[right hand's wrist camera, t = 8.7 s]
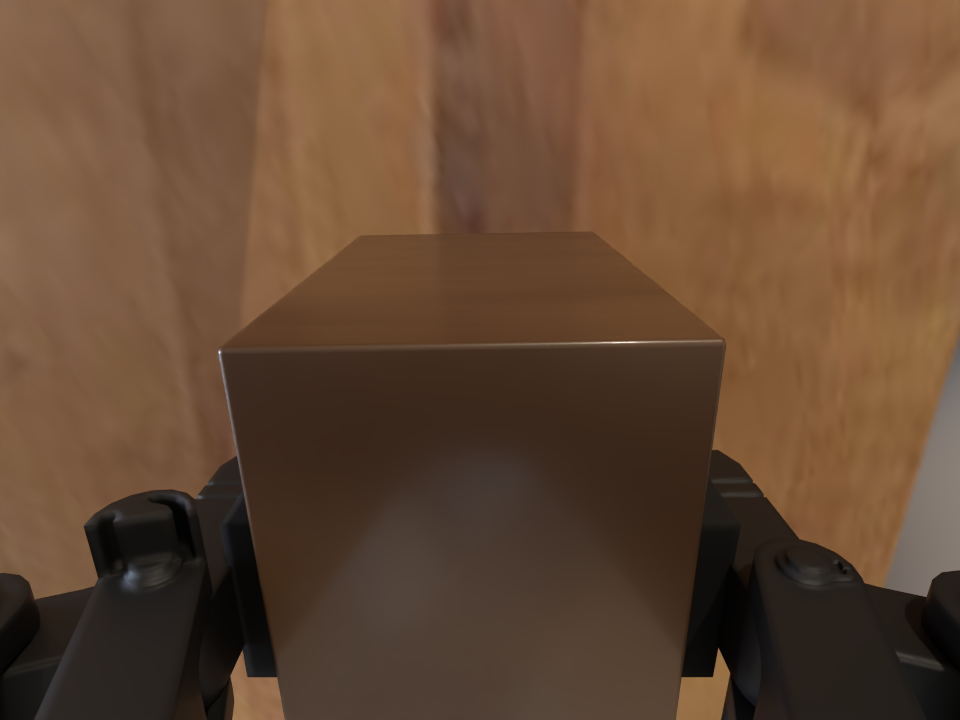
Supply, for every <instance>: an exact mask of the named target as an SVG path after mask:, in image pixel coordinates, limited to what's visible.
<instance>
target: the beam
mask: <svg viewBox="0 0 960 720" xmlns="http://www.w3.org/2000/svg"><path fill="white" fill-rule="evenodd" d="M725 348H726V343H725V339H724V338H722V337H721V336H720V335H719V334H717V333H716V332H715V331H714V330H713V329H711V328H710V327H709V326H708V325H706V324H705V323H704V322H703V321H701V320H700V319H699V318H698V317H697V316H695V315H694V314H693V313H692V312H690V311H689V310H688V309H687V308H686V307H684V306H683V305H682V304H681V303H679V302H678V301H677V300H676V299H675V298H673V297H672V296H671V295H670V294H668V293H667V292H666V291H665V290H664V289H662V288H661V287H660V286H659V285H657V284H656V283H655V282H654V281H653V280H651V279H650V278H649V277H648V276H646V275H645V274H644V273H643V272H642V271H640V270H639V269H638V268H637V267H635V266H634V265H633V264H632V263H631V262H629V261H628V260H627V259H626V258H624V257H623V256H622V255H621V254H620V253H618V252H617V251H616V250H615V249H613V248H612V247H611V246H610V245H609V244H607V243H606V242H605V241H604V240H602V239H601V238H600V237H599V236H598V235H596V234H595V233H594V232H544V233H488V234H432V235H375V236H360V237H358V238H357V239H356V240H354V241H353V242H352V243H351V244H349V245H348V246H347V247H346V248H344V249H343V250H342V251H340V252H339V253H338V254H337V255H335V256H334V257H333V258H332V259H330V260H329V261H328V262H327V263H325V264H324V265H323V266H322V267H320V268H319V269H318V270H317V271H315V272H314V273H313V274H312V275H310V276H309V277H308V278H307V279H305V280H304V281H303V282H302V283H300V284H299V285H298V286H296V287H295V288H294V289H293V290H291V291H290V292H289V293H288V294H286V295H285V296H284V297H283V298H281V299H280V300H279V301H278V302H276V303H275V304H274V305H273V306H271V307H270V308H269V309H268V310H266V311H265V312H264V313H263V314H261V315H260V316H259V317H257V318H256V319H255V320H254V321H252V322H251V323H250V324H249V325H247V326H246V327H245V328H244V329H242V330H241V331H240V332H239V333H237V334H236V335H235V336H234V337H232V338H231V339H230V340H229V341H227V342H226V343H225V344H224V345H222V346H221V347H220V348H219V352H218V355H219V360H220V366H221V371H222V377H223V382H224V388H225V393H226V399H227V404H228V410H229V415H230V421H231V426H232V432H233V437H234V442H235V448H236V453H237V459H238V464H239V470H240V475H241V481H242V486H243V492H244V497H245V503H246V508H247V514H248V519H249V525H250V530H251V536H252V541H253V547H254V552H255V558H256V563H257V569H258V574H259V580H260V585H261V591H262V596H263V602H264V607H265V612H266V618H267V623H268V629H269V634H270V640H271V645H272V651H273V656H274V662H275V667H276V673H277V678H278V684H279V689H280V695H281V700H282V706H283V711H284V717H285V720H676V714H677V706H678V699H679V691H680V684H681V676H682V669H683V662H684V654H685V647H686V639H687V632H688V624H689V617H690V609H691V602H692V594H693V587H694V579H695V572H696V565H697V557H698V550H699V542H700V535H701V527H702V520H703V512H704V505H705V497H706V490H707V482H708V475H709V468H710V460H711V453H712V445H713V438H714V430H715V423H716V415H717V408H718V400H719V393H720V385H721V378H722V371H723V363H724V356H725Z"/></svg>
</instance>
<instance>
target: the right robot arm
mask: <svg viewBox="0 0 960 720" xmlns="http://www.w3.org/2000/svg"><path fill="white" fill-rule="evenodd" d="M84 529H85V532H86V536H87V540H88V543H89V547H90V550H91V554H92V557H93V561H94V564H95V568H96V572H97V575H98V581H97V583H96V585H95V586H94V587H90V588H86V589H83V590H78V591H73V592H68V593H64V594H59V595H54V596H50V597H45V598H40V599H34V596H33V593H32V590H31V587H30V584H29V582H28V581H27V580H25V579H24V578H23V577H22V576H20V575H15V574H7V573H0V720H232V716H233V707H234V695H233V688H232V683H231V678H230V675H231V673H232V671H233V669H234V667H235V664H236V662H237V660H238V658H239V656H240V654H241V651H242V649H243V654H244V660H245V665H246V671H247V676H248V677H277V673H276V667H275V662H274V656H273V651H272V645H271V640H270V634H269V629H268V623H267V618H266V612H265V607H264V602H263V596H262V591H261V585H260V580H259V574H258V569H257V563H256V558H255V552H254V547H253V541H252V536H251V530H250V525H249V519H248V514H247V508H246V503H245V497H244V492H243V486H242V481H241V475H240V470H239V464H238V459H237V456H236V457H234V458H233V459H231V460H230V461H228V462H226V463H225V464H223V465H222V466H221V467H220V468H219V469H218V470H217V472H216V473H215V474H214V476H213V477H212V478H211V479H210V481H209V482H208V486H205V487H204V488H203V490H202V491H201V492H200V493H199V495H198V498H197V499H194V498H192V497H191V496H190V495H189V494H187V493H185V492H180V491H176V490H152V491H148V492H144V493H139V494H135V495H131V496H128V497H126V498H123V499H121V500H118V501H116V502H114V503H111V504H110V505H108V506H106V507H105V508H103V509H102V510H100V511H99V512H97V513H96V514H94V515H93V516H92V517H91V519H90V520H89V521H88V522H87V523H86V524H85V525H84ZM718 647H719V650H720V652H721V654H722V656H723V658H724V660H725V662H726V665H727V667H728V669H729V671H730V678H729V683H728V688H727V693H726V698H725V703H724V708H723V713H722V718H721V720H960V571H950V572H942V573H941V574H939V575H938V576H937V577H935V578H934V579H933V580H932V583H931V586H930V589H929V592H928V595H927V597H923V596H919V595H914V594H909V593H904V592H900V591H895V590H890V589H885V588H881V587H876V586H873V585H869V584H865V583H864V582H863V579H862V577H861V576H860V575H859V573H858V572H857V571H856V569H855V568H854V567H853V565H852V564H850V563H849V562H848V561H846V560H845V559H844V558H842V557H841V556H840V555H838V554H837V553H835V552H833V551H831V550H829V549H827V548H824V547H822V546H820V545H818V544H815V543H811V542H808V541H804V540H800V539H799V538H798V537H797V536H796V534H795V533H794V532H793V531H792V529H791V528H790V527H789V525H788V524H787V523H786V522H785V520H784V519H783V518H782V517H781V515H780V514H779V513H778V512H777V510H776V509H775V508H774V507H773V505H772V504H771V503H770V501H769V500H768V499H767V498H766V497H764V496H763V493H762V491H761V490H760V489H759V488H758V486H757V485H756V484H753V480H752V479H751V478H750V476H749V475H748V474H747V472H746V471H745V470H744V469H743V467H742V466H741V465H740V464H739V463H737V462H736V461H734V460H733V459H731V458H730V457H728V456H726V455H725V454H723V453H722V452H720V451H719V450H712V453H711V460H710V468H709V475H708V482H707V490H706V497H705V505H704V512H703V520H702V527H701V535H700V542H699V550H698V557H697V565H696V572H695V579H694V587H693V594H692V602H691V609H690V617H689V624H688V632H687V639H686V647H685V654H684V662H683V669H682V676H681V677H713V673H714V668H715V662H716V657H717V652H718Z"/></svg>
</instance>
